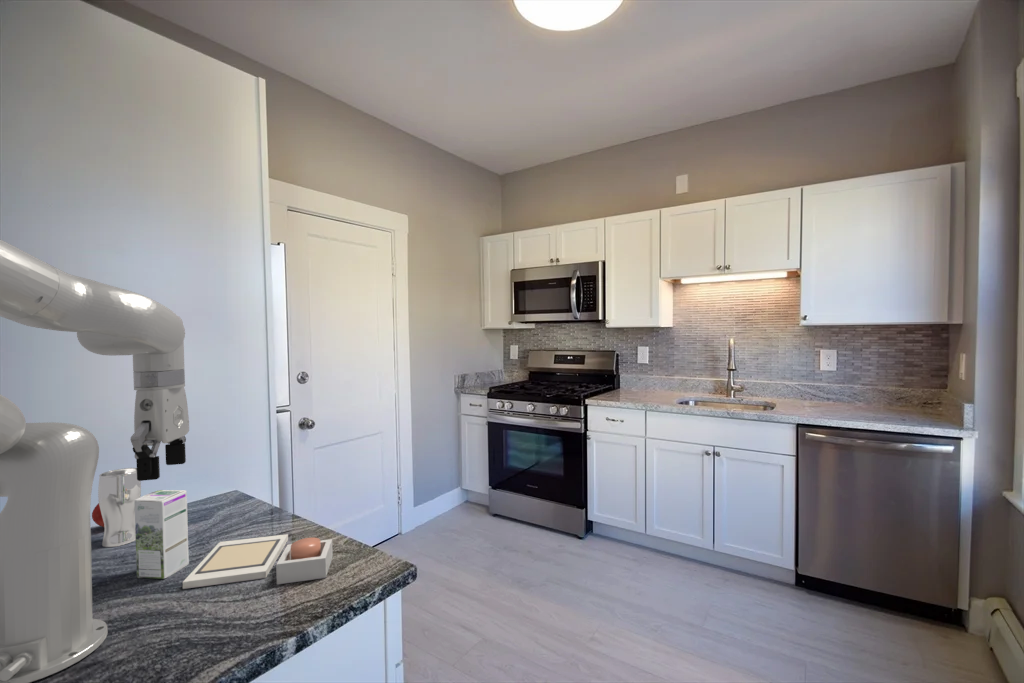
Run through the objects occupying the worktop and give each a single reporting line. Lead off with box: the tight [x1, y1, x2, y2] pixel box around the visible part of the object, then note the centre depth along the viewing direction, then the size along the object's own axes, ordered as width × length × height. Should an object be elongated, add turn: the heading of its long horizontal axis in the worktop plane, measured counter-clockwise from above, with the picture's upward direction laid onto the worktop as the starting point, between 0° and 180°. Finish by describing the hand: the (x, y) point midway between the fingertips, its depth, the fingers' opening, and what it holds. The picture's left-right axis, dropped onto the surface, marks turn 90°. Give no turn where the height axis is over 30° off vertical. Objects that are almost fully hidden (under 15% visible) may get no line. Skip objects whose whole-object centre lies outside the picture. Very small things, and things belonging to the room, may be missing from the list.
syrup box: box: [134, 489, 190, 580], centre depth 83 cm, size 6×6×14 cm
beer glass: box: [97, 467, 142, 548], centre depth 97 cm, size 7×7×15 cm
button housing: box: [275, 538, 334, 585], centre depth 82 cm, size 8×8×4 cm
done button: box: [291, 537, 321, 560], centre depth 82 cm, size 5×5×2 cm
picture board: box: [182, 534, 289, 590], centre depth 86 cm, size 16×13×1 cm
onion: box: [91, 502, 104, 528], centre depth 104 cm, size 6×6×8 cm
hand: (163, 471), depth 83 cm, fingers open, 9 cm apart
